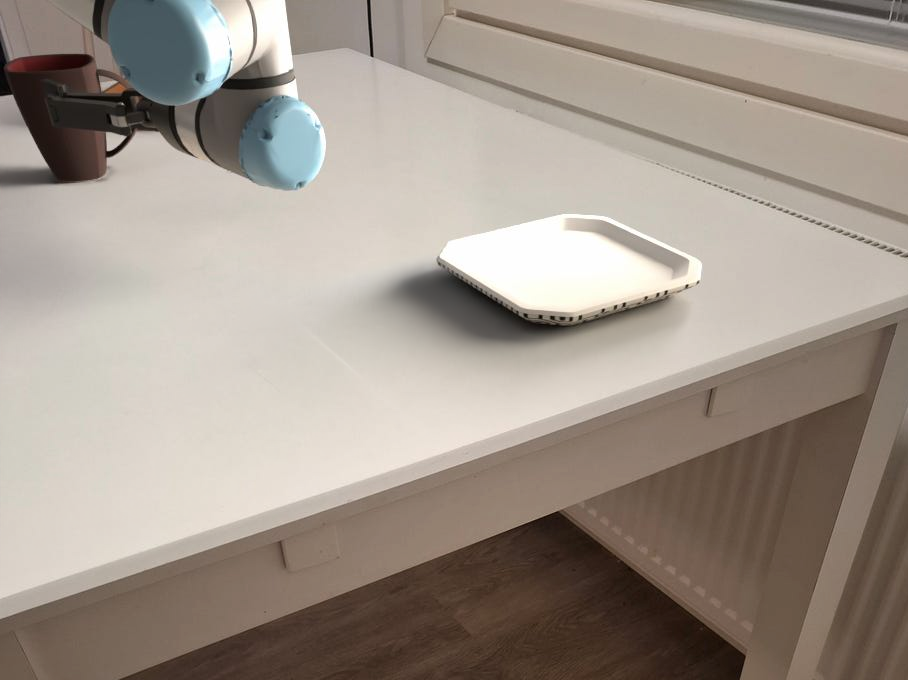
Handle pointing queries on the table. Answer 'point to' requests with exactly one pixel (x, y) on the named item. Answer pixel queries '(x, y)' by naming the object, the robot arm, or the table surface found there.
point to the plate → (570, 268)
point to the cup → (61, 148)
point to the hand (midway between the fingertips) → (107, 83)
